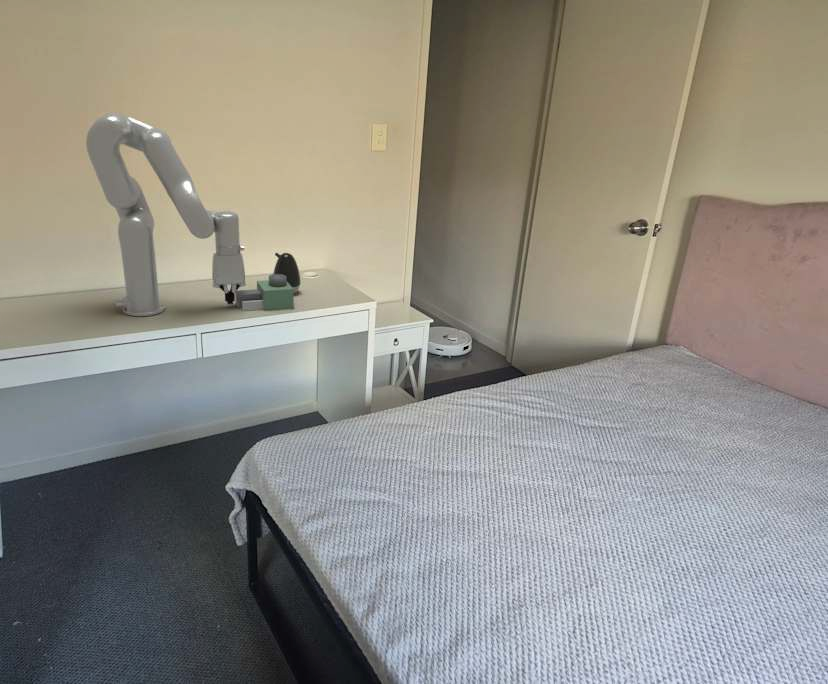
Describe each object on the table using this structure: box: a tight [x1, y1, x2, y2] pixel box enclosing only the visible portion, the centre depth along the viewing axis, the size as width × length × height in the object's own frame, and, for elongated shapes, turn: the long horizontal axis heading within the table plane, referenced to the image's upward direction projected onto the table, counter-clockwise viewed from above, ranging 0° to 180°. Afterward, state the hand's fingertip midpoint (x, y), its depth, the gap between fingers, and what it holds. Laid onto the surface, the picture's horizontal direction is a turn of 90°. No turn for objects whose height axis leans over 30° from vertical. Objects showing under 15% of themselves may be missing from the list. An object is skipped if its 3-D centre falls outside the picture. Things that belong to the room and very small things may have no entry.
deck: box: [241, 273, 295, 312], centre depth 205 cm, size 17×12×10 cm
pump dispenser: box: [273, 252, 301, 294], centre depth 219 cm, size 10×10×15 cm
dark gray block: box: [235, 288, 262, 310], centre depth 204 cm, size 8×5×5 cm, turn 114°
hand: (230, 303), depth 202 cm, fingers closed
